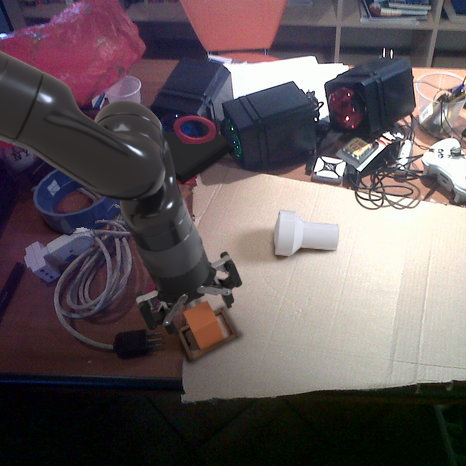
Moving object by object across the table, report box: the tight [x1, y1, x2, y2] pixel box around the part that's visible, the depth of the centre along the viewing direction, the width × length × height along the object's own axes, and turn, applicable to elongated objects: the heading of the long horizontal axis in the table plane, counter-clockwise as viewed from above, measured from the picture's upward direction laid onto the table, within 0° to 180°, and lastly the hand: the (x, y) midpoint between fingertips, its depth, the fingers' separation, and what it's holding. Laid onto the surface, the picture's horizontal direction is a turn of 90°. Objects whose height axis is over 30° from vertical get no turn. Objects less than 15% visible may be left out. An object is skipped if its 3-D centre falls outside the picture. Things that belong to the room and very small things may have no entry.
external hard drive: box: [165, 132, 234, 185], centre depth 108 cm, size 14×23×3 cm, turn 49°
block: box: [182, 300, 225, 351], centre depth 75 cm, size 4×4×6 cm
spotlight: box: [273, 209, 340, 257], centre depth 86 cm, size 8×11×8 cm
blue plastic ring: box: [32, 168, 121, 235], centre depth 96 cm, size 15×15×6 cm
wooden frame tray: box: [177, 306, 239, 362], centre depth 80 cm, size 8×17×2 cm, turn 30°
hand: (201, 317), depth 73 cm, fingers open, 8 cm apart
